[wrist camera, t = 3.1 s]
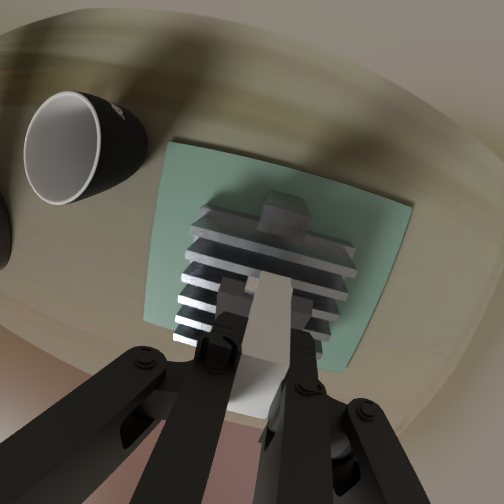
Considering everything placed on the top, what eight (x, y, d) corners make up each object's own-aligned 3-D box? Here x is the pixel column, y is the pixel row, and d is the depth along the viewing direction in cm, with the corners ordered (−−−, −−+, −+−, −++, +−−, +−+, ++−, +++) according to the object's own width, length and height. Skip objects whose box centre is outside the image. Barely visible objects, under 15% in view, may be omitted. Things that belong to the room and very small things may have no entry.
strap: (212, 363, 26) (208, 376, 25) (225, 266, 16) (218, 285, 15) (265, 377, 25) (262, 390, 24) (316, 290, 16) (314, 310, 15)
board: (145, 317, 33) (143, 320, 32) (170, 141, 26) (168, 141, 26) (342, 370, 32) (342, 373, 31) (410, 206, 26) (412, 207, 25)
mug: (173, 118, 26) (118, 102, 16) (142, 201, 29) (82, 223, 19) (86, 91, 25) (23, 79, 16) (63, 164, 28) (-1, 174, 19)
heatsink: (184, 323, 32) (154, 374, 23) (212, 175, 26) (178, 183, 18) (307, 355, 31) (310, 415, 23) (360, 215, 26) (391, 241, 17)
